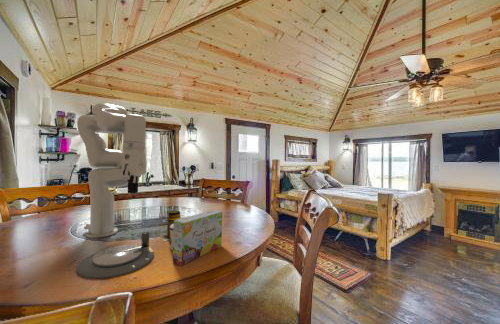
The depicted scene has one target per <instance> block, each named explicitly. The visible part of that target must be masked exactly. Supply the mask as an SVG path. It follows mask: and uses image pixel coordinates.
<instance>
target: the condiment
mask: <svg viewBox="0 0 500 324" xmlns="http://www.w3.org/2000/svg"><path fill="white" fill-rule="evenodd" d="M167 214H168V216H167V220H166V221H167V222H166V225H167V228H166V233H167V234H166V235H165V234H163V235H160V237H161V239H162V240H163V241H164V242H166V241H170V229H169V227H170V225H172V224H174V220H178V219H181V218H182V217H181V212H180V210H170V211H168V213H167Z"/></svg>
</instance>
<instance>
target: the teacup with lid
mask: <svg viewBox="0 0 500 324" xmlns="http://www.w3.org/2000/svg"><path fill="white" fill-rule="evenodd" d="M173 227H174V224H172V225H170V227H169V229H170V240H169V249H170V250H171V251H173Z"/></svg>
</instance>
